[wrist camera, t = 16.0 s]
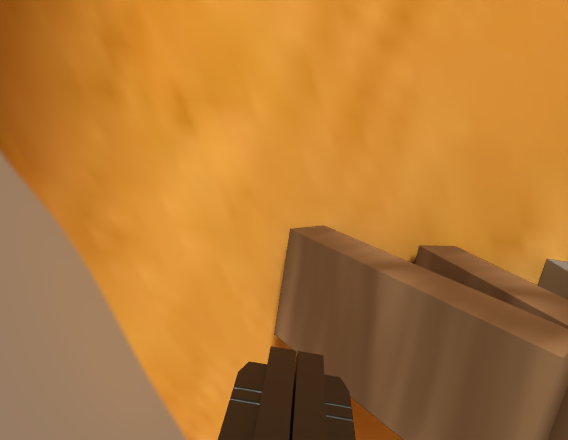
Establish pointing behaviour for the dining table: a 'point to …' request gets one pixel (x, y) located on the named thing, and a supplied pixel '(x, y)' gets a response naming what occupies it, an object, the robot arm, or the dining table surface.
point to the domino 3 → (555, 278)
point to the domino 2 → (500, 297)
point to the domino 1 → (420, 343)
